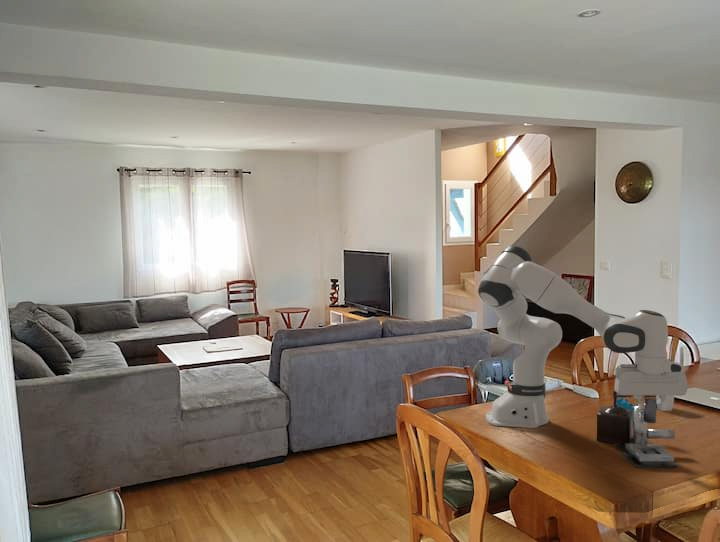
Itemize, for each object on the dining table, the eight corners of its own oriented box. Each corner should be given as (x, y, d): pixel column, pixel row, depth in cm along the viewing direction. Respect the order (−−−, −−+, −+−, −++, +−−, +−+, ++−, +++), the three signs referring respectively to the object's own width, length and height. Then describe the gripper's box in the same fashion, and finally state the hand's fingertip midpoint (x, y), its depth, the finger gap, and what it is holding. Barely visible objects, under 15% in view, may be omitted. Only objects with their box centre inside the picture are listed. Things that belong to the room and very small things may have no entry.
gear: (628, 421, 214) (613, 396, 220) (616, 429, 217) (602, 405, 223) (647, 420, 219) (632, 396, 225) (636, 428, 223) (621, 404, 229)
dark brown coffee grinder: (631, 447, 194) (633, 392, 192) (595, 441, 199) (596, 388, 198) (637, 432, 207) (638, 381, 206) (603, 427, 213) (604, 377, 211)
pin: (646, 423, 179) (646, 397, 179) (641, 419, 183) (642, 393, 182) (657, 423, 179) (658, 397, 178) (653, 419, 182) (653, 393, 182)
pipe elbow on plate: (635, 467, 178) (636, 419, 176) (615, 447, 193) (616, 402, 192) (691, 467, 177) (692, 419, 176) (666, 447, 193) (667, 402, 191)
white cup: (652, 410, 230) (653, 385, 230) (650, 404, 238) (651, 380, 237) (675, 412, 227) (676, 387, 227) (673, 406, 235) (673, 381, 234)
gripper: (619, 366, 177) (618, 412, 178) (690, 366, 176) (689, 412, 177) (611, 361, 183) (610, 405, 184) (680, 361, 182) (679, 406, 183)
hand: (649, 409), depth 181 cm, fingers closed on pin, 3 cm apart
